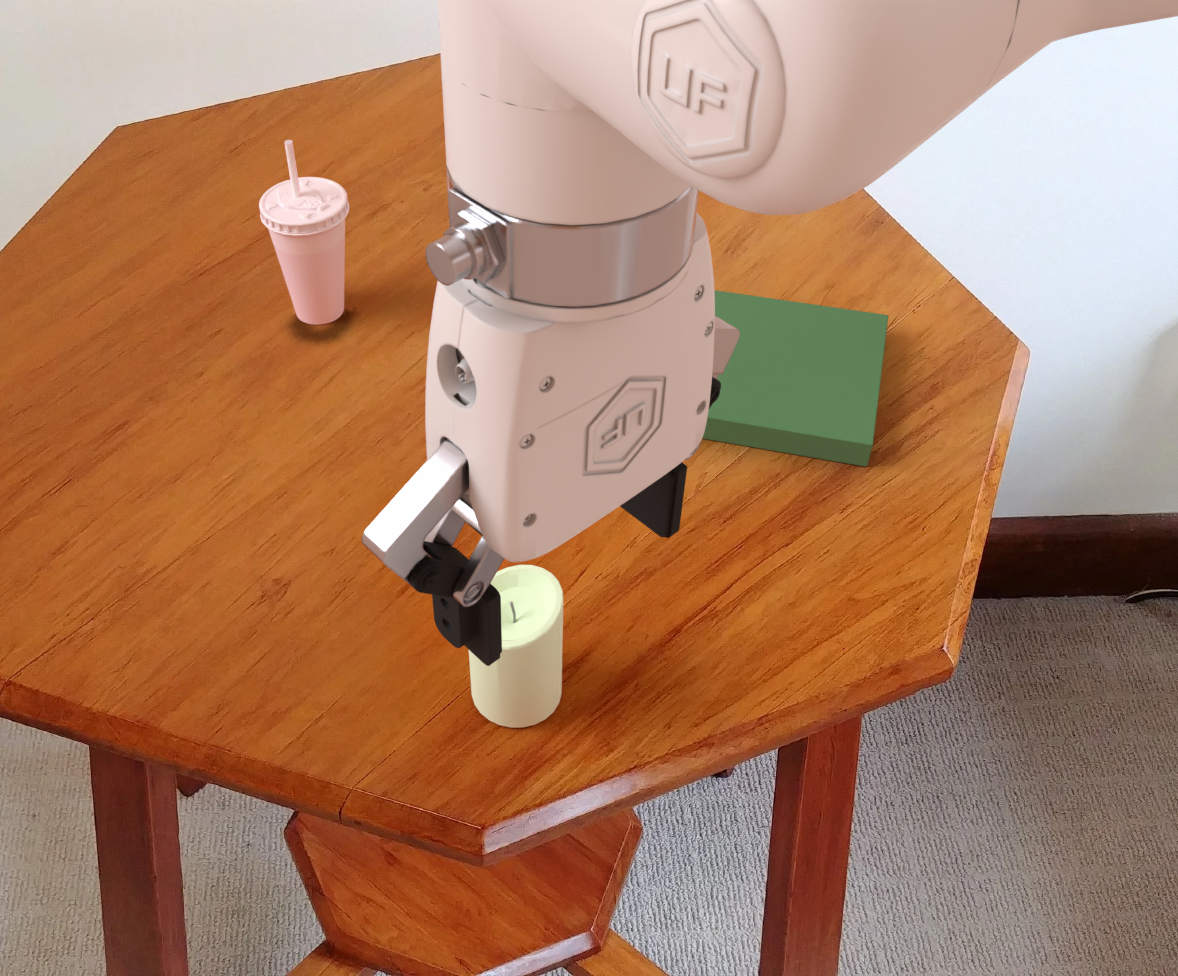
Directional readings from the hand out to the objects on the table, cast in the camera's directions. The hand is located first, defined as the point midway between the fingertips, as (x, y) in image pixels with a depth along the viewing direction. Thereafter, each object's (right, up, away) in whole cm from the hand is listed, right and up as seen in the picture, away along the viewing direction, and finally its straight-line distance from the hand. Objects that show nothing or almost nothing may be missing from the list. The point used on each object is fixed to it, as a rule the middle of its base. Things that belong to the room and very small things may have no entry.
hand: (561, 576), depth 50 cm
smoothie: (-15, +17, +45) cm, 50 cm away
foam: (+15, +11, +37) cm, 41 cm away
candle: (-1, -8, +19) cm, 20 cm away
